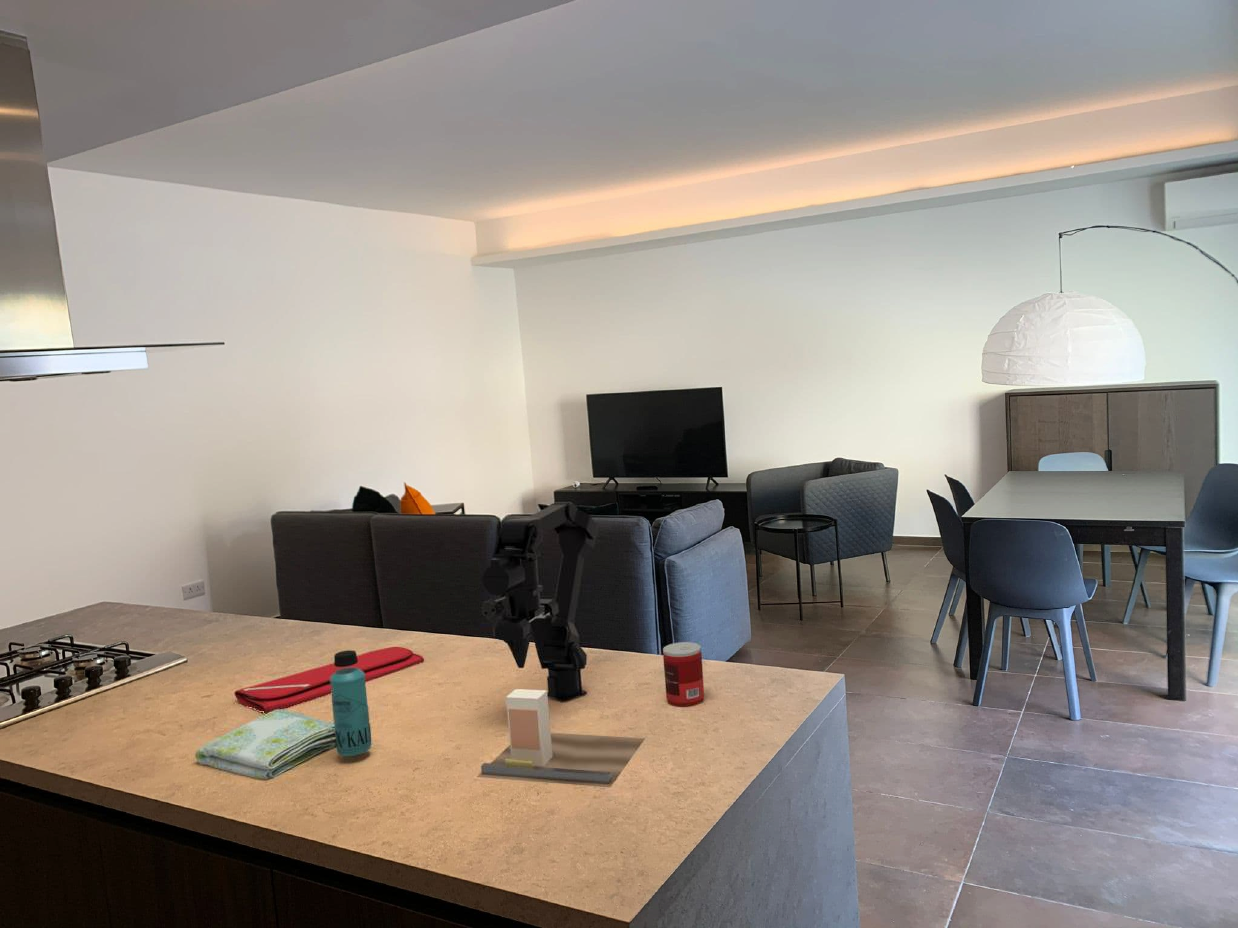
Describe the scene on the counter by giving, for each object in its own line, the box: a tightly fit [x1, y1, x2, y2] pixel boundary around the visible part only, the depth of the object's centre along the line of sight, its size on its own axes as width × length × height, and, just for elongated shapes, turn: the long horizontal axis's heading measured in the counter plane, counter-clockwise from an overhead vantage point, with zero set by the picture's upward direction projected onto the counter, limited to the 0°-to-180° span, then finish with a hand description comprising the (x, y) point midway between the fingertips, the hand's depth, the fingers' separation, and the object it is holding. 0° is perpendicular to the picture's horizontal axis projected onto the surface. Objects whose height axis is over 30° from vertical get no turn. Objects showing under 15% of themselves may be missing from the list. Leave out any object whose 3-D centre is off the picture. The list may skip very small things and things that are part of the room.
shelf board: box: [476, 732, 646, 788], centre depth 157 cm, size 20×24×1 cm
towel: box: [194, 709, 336, 780], centre depth 171 cm, size 18×21×5 cm
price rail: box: [480, 759, 612, 784], centre depth 150 cm, size 2×23×2 cm, turn 72°
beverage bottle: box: [330, 650, 373, 757], centre depth 166 cm, size 6×7×20 cm
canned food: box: [662, 641, 705, 708], centre depth 183 cm, size 8×8×11 cm
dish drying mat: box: [234, 646, 425, 714], centre depth 213 cm, size 16×41×4 cm, turn 138°
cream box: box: [505, 688, 553, 766], centre depth 156 cm, size 4×6×12 cm
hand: (530, 660), depth 178 cm, fingers open, 9 cm apart
